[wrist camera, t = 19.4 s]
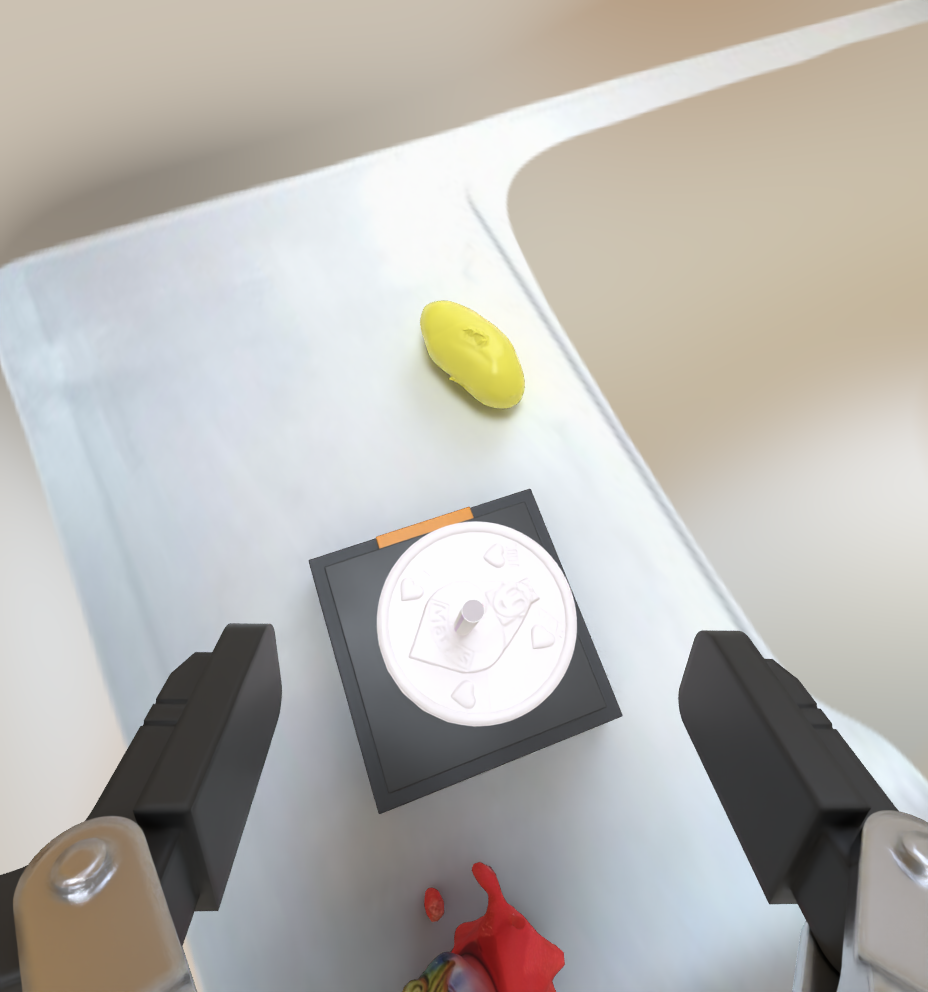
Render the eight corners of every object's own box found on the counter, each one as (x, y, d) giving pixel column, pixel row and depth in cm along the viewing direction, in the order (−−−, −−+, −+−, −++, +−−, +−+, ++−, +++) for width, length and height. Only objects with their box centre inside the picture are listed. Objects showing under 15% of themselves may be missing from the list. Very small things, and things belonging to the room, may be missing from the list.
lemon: (483, 435, 33) (490, 405, 30) (404, 339, 35) (401, 299, 31) (537, 398, 34) (550, 364, 31) (457, 307, 36) (461, 264, 32)
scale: (382, 803, 27) (377, 818, 24) (317, 569, 30) (305, 557, 27) (607, 713, 29) (627, 716, 26) (523, 501, 32) (532, 484, 29)
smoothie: (369, 610, 27) (312, 544, 14) (486, 549, 28) (539, 432, 15) (432, 738, 25) (437, 805, 12) (553, 666, 27) (678, 654, 13)
